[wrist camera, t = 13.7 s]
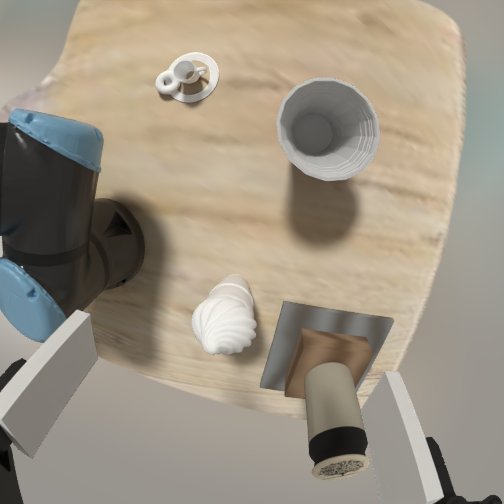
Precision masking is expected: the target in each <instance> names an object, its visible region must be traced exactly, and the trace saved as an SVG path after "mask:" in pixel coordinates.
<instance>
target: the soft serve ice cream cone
mask: <svg viewBox="0 0 504 504" xmlns="http://www.w3.org/2000/svg"><path fill="white" fill-rule="evenodd" d="M253 307H254V302H253V298H252V296H251V294H250V289H249V285H248V282H247V280H246V279H245V278H244V277H242V276H241V275H238V274H231V275H228V276H226V277H225V278H224V279H223V280H222V281H221V282H220V283H219V284H218V285H217V286H215V287H214V288H213V289H212V290H211V291H210V293H209V295H208V297H207V298H206V299H205V300H204V301H203V302H202V303H201V304H200V305H199V306H198V307H197V308H196V310H195V311H194V313H193V316H192V321H191V325H192V329H193V331H194V334H195V337H196V338H197V340H198V341H199V342H200V343H201V344H202V346H203V349H204V351H206V352H207V353H208V354H212V355H215V354H221V353H223V354H226V355H230V354H232V353H234V352H235V353H240V352H242V351H243V348H244V347H249V346H251V344H252V343H251V340H252V339H254V338H255V337H256V333H255V331H254V329H255V328H256V327H257V323H256V321H255V320H254V312H253Z"/></svg>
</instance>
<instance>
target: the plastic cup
mask: <svg viewBox="0 0 504 504" xmlns="http://www.w3.org/2000/svg"><path fill="white" fill-rule="evenodd" d="M276 124H277V132H278V140H279V143H280V145H281V147H282V149H283V150H284V152H285V154H286V156H287V158H288V159H289V161H290V162H291V163H293V164H294V165H295V166H296V167H297V168H299V169H300V170H301V171H302V172H303V173H305V174H306V175H309V176H312V177H315V178H318V179H321V180H324V181H335V180H346V179H348V178H350V177H352V176H354V175H356V174H358V173H360V172H362V171H363V170H364V169H365V168H366V167H367V165H368V164H369V163H370V162H371V160H372V159H373V158H374V157H375V154H376V151H377V147H378V144H379V140H380V130H379V121H378V116H377V114H376V112H375V110H374V109H373V107H372V105H371V103H370V101H369V99H368V98H367V97H366V96H365V95H363V94H362V93H361V92H360V91H359V90H358V89H357V88H356V87H355V86H353V85H351V84H349V83H346V82H344V81H341V80H339V79H336V78H312V79H310V80H308V81H305V82H303V83H301V84H299V85H296V86H295V87H294V88H293V89H292V90H291V91H290V92H289V94H288V95H287V96H286V97H285V98H284V99H283V100H282V103H281V106H280V109H279V113H278V116H277V119H276Z"/></svg>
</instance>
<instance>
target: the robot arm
mask: <svg viewBox="0 0 504 504" xmlns="http://www.w3.org/2000/svg"><path fill="white" fill-rule="evenodd" d="M8 121H10V122H8V123H0V236H2V244H3V257H0V309H1V311H2V312H3V314H4V315H5V316H6V318H7V319H8V320H9V322H10V323H11V324H12V325H13V326H14V327H15V328H16V329H17V330H18V331H20V332H21V333H22V334H23V335H25V336H26V337H28V338H29V339H31V340H34V341H36V342H40V343H44V344H43V345H42V346H41V347H40V348H39V349H38V350H37V351H36V352H35V353H34V354H33V355H32V357H31V358H30V359H29V360H28V361H26V360H24V359H23V358H21V359H20V360H18V361H16V362H14V363H12V364H11V366H10V367H9V368H8V369H7V370H6V371H5V373H4V374H3V375H2V376H1V377H0V504H23V500H22V497H21V493H20V489H19V485H18V480H17V476H16V471H15V466H14V460H13V454H12V450H11V447H10V445H11V443H12V442H13V443H14V445H15V446H16V447H17V448H18V449H19V450H20V451H21V452H23V453H24V454H26V455H27V456H29V457H30V458H33V457H34V455H35V453H36V452H37V450H38V448H39V447H40V445H41V443H42V442H43V440H44V438H45V437H46V435H47V434H48V432H49V431H50V429H51V427H52V426H53V424H54V423H55V421H56V420H57V418H58V417H59V415H60V413H61V412H62V410H63V409H64V407H65V406H66V404H67V403H68V401H69V400H70V398H71V397H72V395H73V394H74V392H75V391H76V389H77V388H78V387H79V385H80V384H81V382H82V381H83V379H84V378H85V377H86V375H87V374H88V372H89V370H90V369H91V368H92V366H93V365H94V364H95V362H96V361H97V360H98V356H97V351H96V346H95V341H94V335H93V330H92V323H91V317H90V314H88V313H85V312H82V311H83V310H84V309H85V308H86V307H87V306H88V305H89V304H90V303H91V302H92V301H93V300H94V299H95V298H96V297H97V296H98V295H99V294H100V293H101V292H102V291H105V290H109V289H112V288H115V287H118V286H121V285H123V284H125V283H126V282H128V281H129V280H130V279H131V278H132V277H133V276H134V275H135V274H136V273H137V272H138V270H139V269H140V267H141V265H142V262H143V258H144V240H143V235H142V232H141V229H140V227H139V225H138V223H137V221H136V220H135V218H134V217H133V215H132V214H131V213H130V212H129V211H128V210H127V209H126V208H125V207H124V206H122V205H121V204H119V203H118V202H116V201H113V200H110V199H105V198H99V199H95V194H96V188H97V182H98V177H99V173H100V172H101V167H100V163H101V156H102V150H103V143H104V139H103V135H102V133H101V131H100V130H99V129H98V128H96V127H95V126H92V125H89V124H86V123H83V122H79V121H76V120H72V119H68V118H64V117H60V116H56V115H51V114H46V113H41V112H36V111H30V110H24V109H14V110H13V111H12V113H11V115H10V116H9V120H8ZM361 413H362V417H363V422H364V426H365V430H366V435H367V439H368V444H369V448H370V453H371V458H372V463H373V468H374V474H375V479H376V484H377V490H378V495H379V502H380V504H502V501H501V499H500V498H499V497H498V496H496V495H490V496H488V497H487V498H486V499H484V500H483V501H475V502H467V501H466V499H465V498H463V497H462V496H456V494H455V492H454V490H453V486H452V483H451V480H450V477H449V474H448V471H447V468H446V465H444V463H445V462H444V459H443V457H442V454H441V451H440V448H439V445H438V444H437V443H436V442H435V440H434V439H433V438H432V437H427V438H425V436H424V434H423V431H422V428H421V425H420V423H419V420H418V418H417V415H416V412H415V410H414V407H413V405H412V402H411V400H410V397H409V395H408V392H407V390H406V388H405V385H404V383H403V381H402V378H401V376H400V373H399V372H390V371H385V372H384V374H383V375H382V377H381V379H380V380H379V382H378V384H377V385H376V387H375V388H374V390H373V392H372V393H371V395H370V396H369V398H368V399H367V401H366V402H365V404H364V405H363V407H362V408H361Z"/></svg>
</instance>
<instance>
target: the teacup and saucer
mask: <svg viewBox="0 0 504 504" xmlns="http://www.w3.org/2000/svg"><path fill="white" fill-rule="evenodd" d="M190 60H198V61H201V62H203V63H205V64H206V65H207V66H208V68H209V70H210V81H209V83H208V85H207V86H206V87H205V89H203V90H202V91H201V92H199V93H197V94H193V95H185V94H182V93H180V92H179V91H178V90H177V89H178V88H179V86H180V84H181V82H183V83H186V84H191V83H194V82H196V81H197V80H198V78H199V76H202V75H204V74H205V73H206V72H207V69H206V68H205V67H199V68H197V67H196V66H195V64H194V63H193V62H191V61H190ZM191 71H195V72H194V74H193V76H192V77H191V78H190V79H188V80H187V78H186V76H187V74H188V73H189V72H191ZM199 71H202V72H200V73H199ZM218 79H219V69H218V66H217V64H216V62H215V61H214V60H213V59H212V58H211V57H210V56H208V55H206V54H203V53H188V54H185V55H183V56H181V57H179V58H178V59H176V60H175V61H174V62H173V63H172V64H171V66H170V67H169V69H168V71H165V72H163V73H161V74H160V75H159V76H158V77H157V79H156V83H155V85H156V89H157V90H158V91H159V92H160V93H162V94H170V95H171V96H172V97H173V98H175V99H176V100H178V101H181V102H186V103H191V102H196V101H199V100H202V99H204V98H205V97H207V96H208V95H209V94H210V93H211V92H212V91H213V90H214V89H215V87H216V85H217V83H218ZM164 81H165V84H166V86H165V85H164Z"/></svg>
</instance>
